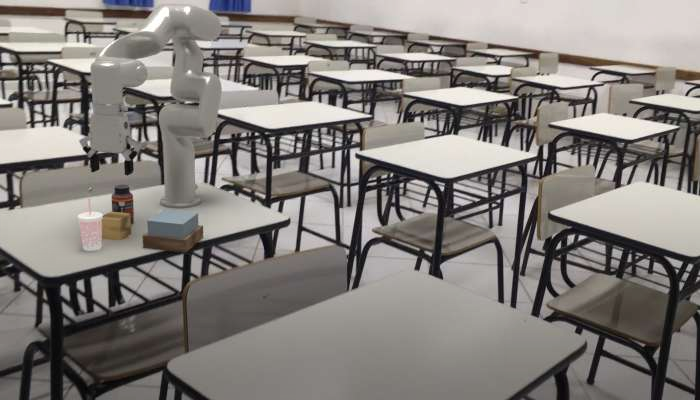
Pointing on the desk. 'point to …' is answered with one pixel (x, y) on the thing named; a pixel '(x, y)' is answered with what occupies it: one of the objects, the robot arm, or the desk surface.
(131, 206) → the supplement bottle
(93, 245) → the beverage cup
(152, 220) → the tower top
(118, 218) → the ochre cube
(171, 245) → the tower base
